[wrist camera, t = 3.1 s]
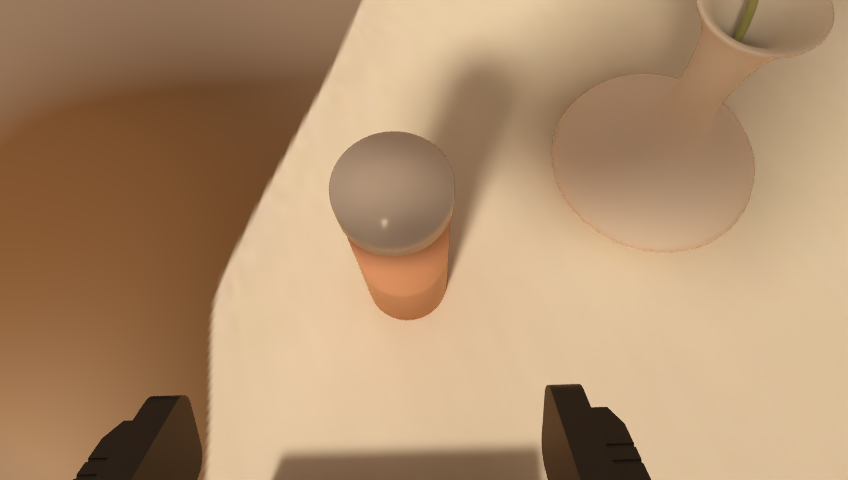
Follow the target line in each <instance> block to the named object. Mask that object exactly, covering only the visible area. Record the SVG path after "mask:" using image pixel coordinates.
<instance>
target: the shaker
mask: <svg viewBox="0 0 848 480" xmlns="http://www.w3.org/2000/svg"><path fill="white" fill-rule="evenodd" d="M454 194H455V181H454V175H453V171H452V168H451V166H450V164H449V162H448V160H447V159H446V157H445V156H444V154H443V153H442V152H441V151H440V150H439V149H438V148H437V147H436V146H435V145H433V144H432V143H431V142H429V141H428V140H426V139H424V138H422V137H419V136H417V135H414V134H410V133H405V132H392V131H391V132H382V133H377V134H374V135H371V136H368V137H366V138H363V139H361V140H360V141H358V142H356V143H355V144H353V145H352V146H351V147H350V148H348V149H347V150H346V151H345V152H344V153H343V154H342V156H341V157H340V158H339V160H338V161H337V163H336V165H335V166H334V169H333V171H332V174H331V178H330V183H329V197H330V203H331V206H332V209H333V211H334V214H335V216H336V218H337V221H338V223H339V225H340V227H341V229H342V230H343V232H344V233H345V235H346V236H347V238H348V240H349V243H350V245H351V248H352V250H353V252H354V255H355V257H356V260H357V262H358V265H359V267H360V269H361V272H362V274H363V277H364V279H365V282H366V284H367V286H368V289H369V291H370V294H371V296H372V298H373V300H374V302H375V304H376V305H377V306H378V307H379V309H380V310H382V311H383V312H384V313H385V314H387V315H389V316H391V317H393V318H396V319H401V320H414V319H419V318H421V317H424V316H426V315H428V314H429V313H431V312H432V311H433V310H434V309H436V308H437V306H438V305H439V304H440V302H441V301H442V299H443V297H444V294H445V291H446V286H447V269H448V251H449V234H450V219H451V216H452V212H453V207H454Z"/></svg>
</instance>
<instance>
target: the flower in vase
mask: <svg viewBox="0 0 848 480" xmlns="http://www.w3.org/2000/svg"><path fill="white" fill-rule="evenodd" d="M696 3H697V8H698V11H699V14H700V16H701V19H702V30H701V34H700V38H699V41H698V44H697V47H696V49H695V51H694V54H693V56H692V58H691V60H690V62H689V64H688V66H687V68H686V69H685V71H684V73H683V75H682V76H681V78H680V79H677V78H674V77H669V76H664V75H657V74H631V75H624V76H620V77H615V78H612V79H610V80H607V81H604V82H602V83H600V84H598V85H596V86H594V87H593V88H591V89H590V90H589V91H587V92H586V93H584V94H583V95H581V96H580V97H579V98H578V99H577V100H575V101H574V102H573V103H572V104H571V105H570V106H569V108H568V109H567V110H566V111H565V113H564V114H563V116H562V117H561V119H560V121H559V123H558V125H557V128H556V130H555V133H554V138H553V142H552V166H553V170H554V175H555V178H556V181H557V183H558V186H559V188H560V190H561V192H562V194H563V196H564V198H565V199H566V201H567V202H568V203H569V205H570V206H571V208H572V209H573V210H574V211H575V212H576V213H577V214H578V216H579V217H580V218H581V219H582V220H583V221H585V222H586V223H587V224H588V225H589V226H591V227H592V228H593V229H595V230H596V231H598V232H599V233H601V234H602V235H604V236H606V237H607V238H609V239H611V240H613V241H615V242H618V243H620V244H623V245H626V246H628V247H632V248H636V249H640V250H644V251H652V252H678V251H686V250H690V249H694V248H698V247H700V246H703V245H705V244H708V243H710V242H712V241H713V240H715V239H717V238H719V237H720V236H722V235H723V234H724V233H725V232H727V231H728V230H729V229H730V228H731V227H732V226H733V225H734V224H735V223H736V222H737V221H738V219H739V218H740V216H741V215H742V213H743V212H744V210H745V208H746V205H747V203H748V201H749V198H750V194H751V190H752V186H753V182H754V172H755V167H754V157H753V152H752V148H751V145H750V142H749V140H748V137H747V135H746V133H745V131H744V129H743V127H742V126H741V124H740V123H739V122H738V120H737V119H736V117H735V116H734V115H733V114H732V113H731V112H730V110H729V109H728V108H727V107H726V106H725V105H723V104H722V103H723V101H724V100H725V99H726V98H727V96H728V95H729V94H730V93H731V92H732V91H733V90H734V89H735V88H736V86H738V85H739V84H740V83H741V82H742V81H743V80H744V79H745V78H746V77H747V76H748V75H750V74H751V73H752V72H753V71H755V70H756V69H758V68H759V67H760V66H762V65H763V64H765V63H767V62H769V61H771V60H774V59H779V58H788V57H793V56H797V55H800V54H803V53H805V52H807V51H809V50H811V49H813V48H815V47H816V46H818V45H819V44H820V43H821V42H822V41H823V40H824V39H825V38H826V37H827V35H828V34H829V32H830V30H831V28H832V25H833V21H834V9H833V4H832V1H831V0H696Z"/></svg>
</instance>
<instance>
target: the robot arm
mask: <svg viewBox="0 0 848 480" xmlns="http://www.w3.org/2000/svg"><path fill="white" fill-rule="evenodd" d="M542 454H543V461H544V467H545V471H546V474H547V478H548V480H651V478H650V476H649V474H648V472H647V470H646V468H645V466H644V464H643V463H642V462H641V457H640V455H639V453H638V451H637V449H636V447H634V442H633V440H632V438H631V436H630V434H629V432H628V430H627V428H626V426H625V424H624V423H623V422H622V421H621V420H620V419H619V418H618V417H617V416H616V415H615V414H614V413H613V412H612V411H611V410H610V409H609V408H608V407H593V408H591V406H590V404H589V401H588V399H587V396H586V394H585V392H584V389H583V387H582V386H581V385H580V384H565V385H547V386H546V389H545V398H544V412H543V426H542ZM201 465H202V447H201V442H200V439H199V434H198V431H197V426H196V422H195V418H194V415H193V411H192V407H191V403H190V400H189V398H188V397H187V396H185V395H179V396H152V397H149V398H148V399H147V400H146V401H145V403H144V404H143V406H142V407H141V409H140V410H139V412H138V413H137V415H136V416H135V418H134V419H133V421H123V422H122V423H121V424H119V425H118V426H117V427H116V428H114V429H113V430H112V431H111V432H109V434H107V435H106V436H105V437H103V438H102V439H101V441H100V442H99V444H98V445H97V447H96V448H95V449H94V451H93V452H92V454H91V455H90V456H89V458H88V462H85V464H84V465H83V466H82V468H81V469H80V471H79V472H78V474H77V478H76V479H73V480H197V479H198V476H199V473H200V470H201Z"/></svg>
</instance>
